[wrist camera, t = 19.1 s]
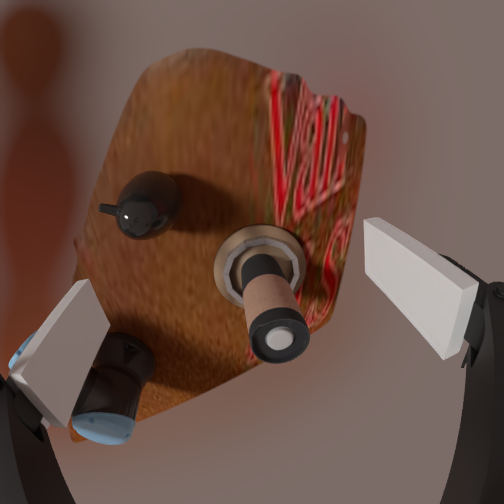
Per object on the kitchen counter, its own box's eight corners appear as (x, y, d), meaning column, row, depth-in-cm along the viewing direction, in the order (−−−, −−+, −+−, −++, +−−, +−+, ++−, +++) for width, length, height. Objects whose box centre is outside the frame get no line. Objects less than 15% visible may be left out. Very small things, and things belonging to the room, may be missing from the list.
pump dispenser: (139, 160, 44) (104, 170, 30) (194, 180, 46) (182, 198, 32) (122, 214, 47) (87, 244, 33) (174, 234, 49) (157, 272, 35)
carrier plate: (225, 313, 56) (226, 322, 54) (204, 235, 50) (203, 240, 47) (307, 295, 57) (312, 303, 54) (298, 215, 50) (302, 219, 47)
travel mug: (285, 283, 53) (314, 354, 35) (245, 294, 53) (258, 370, 35) (275, 246, 50) (306, 309, 32) (234, 259, 50) (242, 328, 32)
